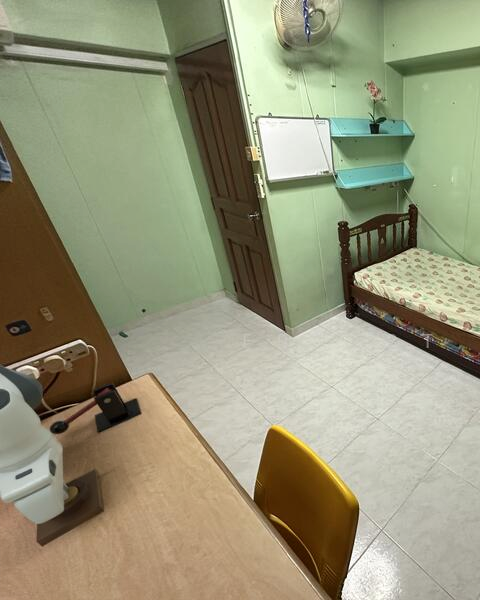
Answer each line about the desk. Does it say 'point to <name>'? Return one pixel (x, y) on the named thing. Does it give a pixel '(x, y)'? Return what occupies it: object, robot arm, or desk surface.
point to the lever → (73, 417)
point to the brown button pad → (74, 509)
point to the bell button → (71, 494)
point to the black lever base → (113, 408)
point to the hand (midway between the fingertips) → (63, 495)
